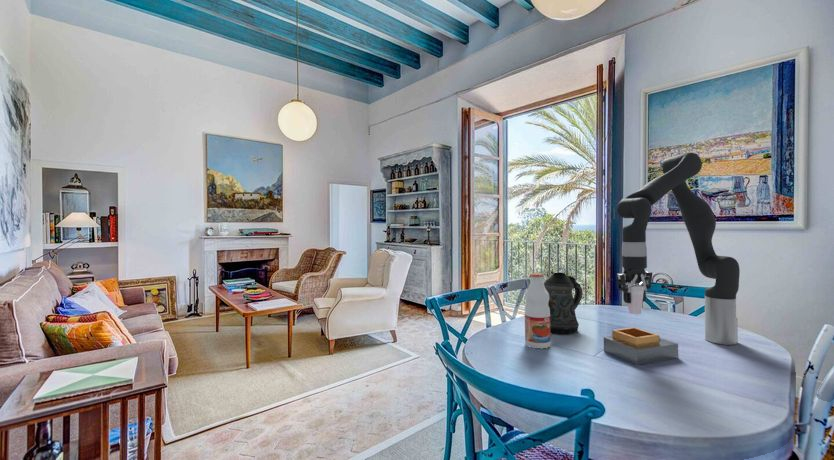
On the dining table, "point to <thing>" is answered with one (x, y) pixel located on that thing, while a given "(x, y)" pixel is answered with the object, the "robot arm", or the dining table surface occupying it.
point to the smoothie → (636, 299)
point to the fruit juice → (537, 313)
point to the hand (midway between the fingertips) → (634, 301)
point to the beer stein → (563, 303)
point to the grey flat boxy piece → (639, 346)
